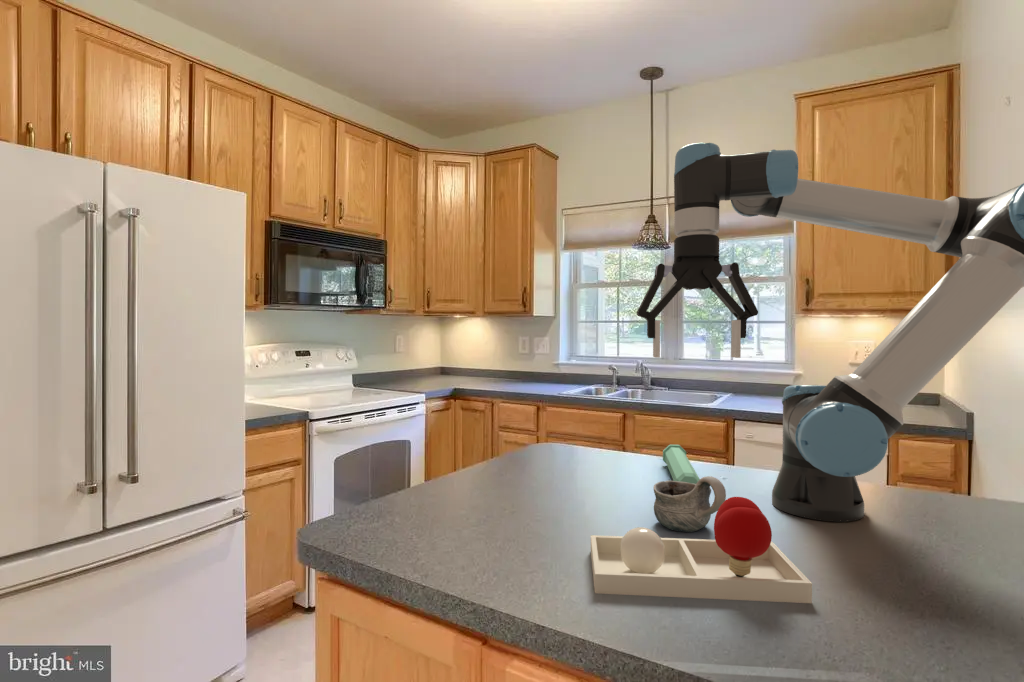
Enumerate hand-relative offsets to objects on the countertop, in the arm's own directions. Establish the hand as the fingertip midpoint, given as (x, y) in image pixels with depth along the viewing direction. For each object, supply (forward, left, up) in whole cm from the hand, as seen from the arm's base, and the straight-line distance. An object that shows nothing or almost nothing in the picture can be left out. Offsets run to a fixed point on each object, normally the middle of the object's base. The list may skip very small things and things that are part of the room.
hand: (695, 357), depth 97 cm
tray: (+6, +24, -29) cm, 38 cm away
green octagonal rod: (-3, -26, -29) cm, 39 cm away
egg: (+12, +24, -28) cm, 39 cm away
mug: (+2, +6, -29) cm, 30 cm away
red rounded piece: (0, +24, -28) cm, 37 cm away
